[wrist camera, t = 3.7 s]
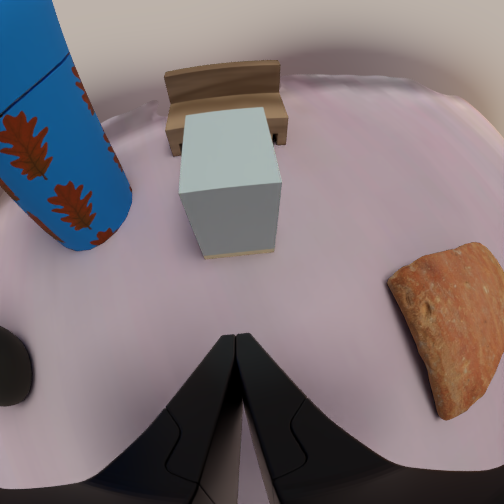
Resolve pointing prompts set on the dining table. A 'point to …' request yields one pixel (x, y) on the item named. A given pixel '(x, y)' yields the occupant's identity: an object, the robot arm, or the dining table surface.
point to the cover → (230, 182)
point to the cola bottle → (13, 369)
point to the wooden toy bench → (224, 95)
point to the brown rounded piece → (455, 321)
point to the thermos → (54, 133)
